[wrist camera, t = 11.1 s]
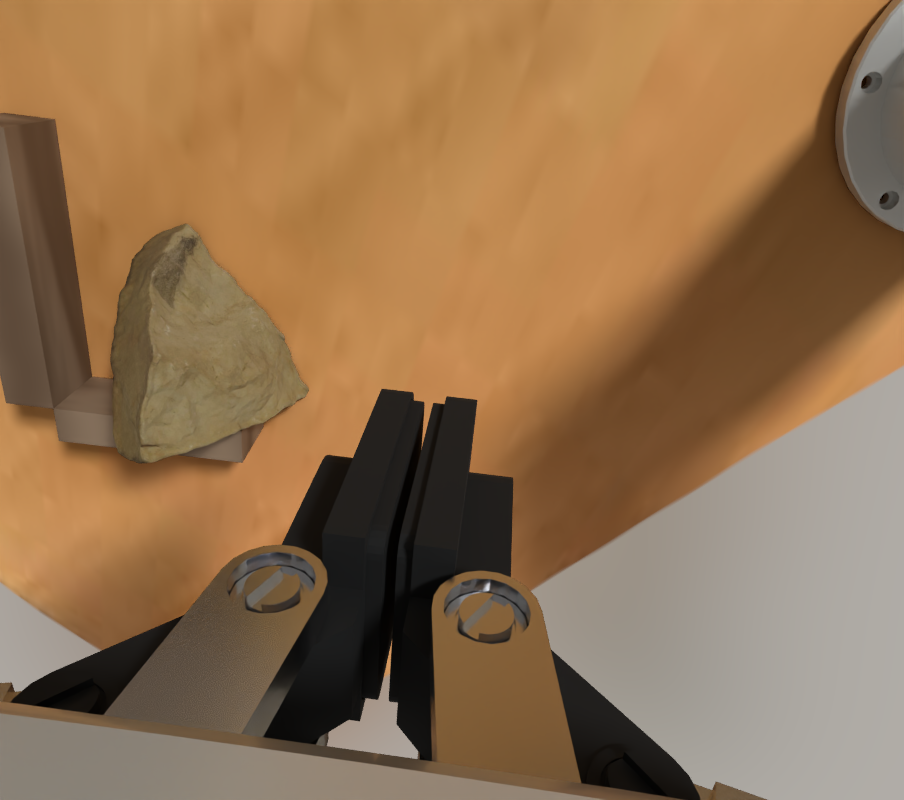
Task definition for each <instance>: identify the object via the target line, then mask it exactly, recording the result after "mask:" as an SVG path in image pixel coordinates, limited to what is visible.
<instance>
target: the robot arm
mask: <svg viewBox="0 0 904 800" xmlns="http://www.w3.org/2000/svg"><path fill="white" fill-rule="evenodd" d="M865 76H866V78H867V82H866V84H865V86H863V87H862V88H861V82H862V80H863V78H864V77H865ZM835 145H836V150H837V156H838V162H839V167H840V169H841V172H842V174H843V177H844V179H845V181H846V184H847V186H848V189H849V190H850V191H851V193H852V194H853V195H854V197H855V198H856V199H857V201H858V202H859V203H860V205H861V206H862V207H863V208H864V209H866V210H867V211H868V212H869V213H870V214H872V215H873V216H874V217H875V218H876V219H878V220H879V221H881V222H883V223H885V224H887V225H889V226H891V227H893V228H895V229H897V230H900V231H903V232H904V0H892V1H891V2H890V4H889V5H888V6H887V8H886V9H885V10H884V11H883V13H882V14H881V15H880V16H879V18H878V19H877V20H876V22H875V23H874V24H873V25H872V27H871V28H870V29H869V31H868V33H867V34H866V36H865V38H864V40H863V41H862V43H861V45H860V47H859V48H858V50H857V52H856V54H855V55H854V57H853V59H852V62H851V65H850V67H849V70H848V72H847V75H846V77H845V80H844V83H843V85H842V88H841V93H840V98H839V103H838V107H837V112H836V128H835ZM883 194H884V198H883V199H882V200H881V201H880V198H881V197H882V195H883ZM879 201H880V202H879ZM476 407H477V400H473V399H465V398H456V397H448V396H447V397H446V401H445V404H438V403H433V407H432V411H431V415H430V418H429V422H428V426H427V430H426V434H425V438H424V442H423V446H422V433H423V419H424V402H421V401H414V394H413V392H405V391H397V390H388V389H382V390H381V392H380V394H379V396H378V399H377V401H376V404H375V406H374V409H373V411H372V413H371V416H370V418H369V421H368V423H367V426H366V428H365V430H364V433H363V435H362V438H361V440H360V443H359V445H358V447H357V450H356V452H355V455H354V457H353V458H348V457H340V456H332V455H327V456H325V457H324V459H323V460H322V462H321V464H320V467H319V469H318V471H317V473H316V475H315V477H314V479H313V481H312V483H311V485H310V487H309V489H308V491H307V493H306V496H305V498H304V500H303V502H302V504H301V506H300V508H299V510H298V512H297V514H296V516H295V518H294V520H293V522H292V524H291V527H290V529H289V531H288V533H287V535H286V537H285V539H284V541H283V543H282V545H271V546H262V547H259V548H255V549H252V550H248V551H246V552H244V553H242V554H241V555H239V556H237V557H235V558H233V559H232V560H231V561H230V562H229V563H228V564H227V565H226V566H224V567H223V568H222V569H221V571H220V572H219V573H218V574H217V576H216V577H215V578H214V579H213V581H212V582H211V583H210V584H209V585H208V587H207V588H206V589H205V590H204V592H203V593H202V594H201V595H200V597H199V598H198V599H197V600H196V601H195V603H194V604H193V605H192V606H191V608H190V609H189V610H188V611H187V613H186V614H185V615H183V616H181V617H179V618H176V619H174V620H172V621H169V622H167V623H165V624H162V625H160V626H158V627H155V628H153V629H151V630H149V631H146V632H144V633H142V634H139V635H137V636H135V637H132V638H130V639H128V640H125V641H123V642H121V643H118V644H116V645H114V646H111V647H109V648H107V649H105V650H102V651H100V652H98V653H95V654H93V655H91V656H89V657H86V658H84V659H81V660H79V661H77V662H75V663H72V664H70V665H68V666H65V667H63V668H61V669H58V670H56V671H54V672H51V673H49V674H48V675H46V676H44V677H43V678H40V679H39V680H37V681H35V682H33V683H31V684H30V685H29V686H28V687H26V688H25V689H24V690H23V691H19V692H15V691H14V688H13V685H12V683H0V800H767V799H764V798H761V797H758V796H755V795H752V794H750V793H747V792H744V791H741V790H738V789H735V788H733V787H730V786H727V785H724V784H721V783H719V782H716V783H715V785H714V787H713V790H710V789H707V788H704V787H702V786H698V785H696V784H693V782H692V780H691V779H690V777H689V775H688V774H687V773H686V772H685V771H684V770H683V769H682V768H681V766H680V765H679V764H678V763H677V762H676V761H675V760H674V759H673V758H672V757H671V756H670V755H669V754H668V753H667V752H665V751H664V750H663V749H662V748H661V747H660V746H659V745H658V744H656V743H655V742H654V741H653V740H652V739H651V738H650V737H648V736H647V735H646V734H645V733H644V732H643V731H642V730H641V729H640V728H638V727H637V726H636V725H635V724H634V723H633V722H632V721H631V720H629V719H628V718H627V717H626V716H625V715H624V714H623V713H622V712H621V711H619V710H618V709H617V708H616V707H615V706H614V705H613V704H612V703H610V702H609V701H608V700H607V699H606V698H605V697H604V696H602V695H601V694H600V693H599V692H598V691H597V690H596V689H595V688H594V687H592V686H591V685H590V684H589V683H588V682H587V681H586V680H585V679H583V678H582V677H581V676H580V675H579V674H578V673H576V671H575V670H573V669H572V668H571V667H570V666H569V665H568V664H567V663H565V662H564V661H563V660H562V659H561V658H560V657H559V656H558V655H556V654H555V653H554V652H553V651H552V650H551V648H550V644H549V639H548V635H547V631H546V626H545V622H544V617H543V613H542V610H541V607H540V605H539V603H538V600H537V598H536V597H535V596H534V595H533V593H532V592H531V591H530V590H529V589H528V588H527V587H526V586H524V585H523V584H521V583H520V582H518V581H517V580H515V579H514V578H511V543H512V506H513V478H511V477H503V476H495V475H487V474H479V473H471V472H469V469H470V460H471V451H472V442H473V434H474V425H475V416H476ZM421 447H422V450H421ZM391 641H392V653H391V670H390V689H389V701H390V702H398V710H397V725H398V726H399V728H400V729H401V730H402V731H403V733H404V734H405V735H406V736H407V738H408V739H409V740H410V741H411V742H412V744H413V745H414V746H415V748H416V749H417V750H418V759H412V758H404V757H398V756H390V755H384V754H376V753H370V752H363V751H355V750H349V749H342V748H335V747H328V746H327V743H328V732H329V731H331V730H332V729H334V728H336V727H337V726H339V725H341V724H342V723H344V722H346V721H347V720H355V721H360V719H361V715H362V711H363V706H364V702H365V698H369V699H376V700H377V699H378V698H379V695H380V691H381V686H382V682H383V677H384V673H385V668H386V664H387V659H388V655H389V650H390V646H391Z"/></svg>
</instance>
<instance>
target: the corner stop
mask: <svg viewBox="0 0 904 800" xmlns="http://www.w3.org/2000/svg"><path fill="white" fill-rule="evenodd" d="M0 376H1V381H2V386H3V390H4V395H5V400H6V403H10V404H18V405H27V406H35V407H44V408H52V409H54V415H55V421H56V426H57V432H58V438H59V441H64V442H73V443H81V444H89V445H98V446H106V447H115V448H117V447H116V444H115V441H114V438H113V434H112V431H113V413H112V388H113V379H108V378H100V377H92V373H91V366H90V359H89V352H88V345H87V338H86V331H85V324H84V317H83V310H82V303H81V296H80V290H79V283H78V276H77V269H76V262H75V255H74V248H73V241H72V234H71V227H70V220H69V213H68V206H67V199H66V192H65V185H64V178H63V172H62V165H61V158H60V151H59V144H58V137H57V130H56V123H55V119H48V118H40V117H32V116H24V115H16V114H8V113H0ZM263 427H264V424H263V423H262V424H257V425H253V426H250V427H249V428H245V429H242V430H240V431H238V432H237V433H235V434H231V435H229V436H227V437H224V438H222V439H220V440H218V441H216V442H214V443H212V444H209V445H207V446H204V447H200V448H195V449H193V450H191V451H189V452H187V453H183V454H178V455H182V456H190V457H199V458H207V459H215V460H224V461H232V462H241V463H242V462H243V461H244V459H245V457H246V456H247V454H248V452H249V451H250V449H251V447H252V446H253V444H254V442H255V440H256V439H257V437H258V435H259V434H260V432H261V430H262V429H263Z"/></svg>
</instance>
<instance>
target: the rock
mask: <svg viewBox="0 0 904 800" xmlns="http://www.w3.org/2000/svg"><path fill="white" fill-rule="evenodd" d="M284 340H285V336H284V335H283V334H282V333H281V332H280V331H279V330H278V329H277V328H276V327H275V325H274V324H273V323H272V321H271V320H270V318H269V317H268V315H267V313H266V312H265V311H264V310H263V309H262V308H260V307H259V306H258V305H257V304H256V302H255V301H254V300H253V299H252V298H251V297H250V296H248V295H246V294H245V293H244V292H243V290H242V289H241V288H240V287H239V286H238V285H237V283H236V280H235V279H234V278H233V277H232V276H230V275H229V273H228V272H226V271H225V270H224V269H222V268H220V267H219V266H218V265H217V264H216V263H215V262H214V261H213V260H212V259H211V257H210V255H209V252H208V250H207V249H206V247H205V246H204V244H203V242H202V240H201V238H200V236H199V235H198V233H197V232H195V231H194V230H193V229H192V228H191V227H190V226H189V225H188V224H183V225H180V226H177V227H175V228H173V229H170V230H166V231H163V232H161V233H159V234H157V235H156V236H154V237H153V238H151V239H150V240H149V241H148V242H147V243H146V244H145V245H144V246H143V248H142V249H141V251H139V252H138V253H137V254H136V255H135V257H134V258H133V259H132V263H131V268H130V272H129V275H128V277H127V281H126V284H125V287H124V288H123V289H122V290H121V292H120V295H119V301H118V312H117V321H116V325H115V327H114V340H113V343H112V350H111V359H110V362H111V367H112V371H113V374H114V376H113V388H112V413H113V431H112V434H113V438H114V441H115V444H116V447H117V450H118V453H119V454H121V455H122V456H123V457H125V458H127V459H129V460H132V461H135V462H136V463H153V462H156V461H159V460H161V459H163V458H166V457H170V456H174V455H178V454H183V453H187V452H189V451H191V450H193V449H195V448H200V447H204V446H207V445H209V444H212V443H214V442H216V441H218V440H220V439H222V438H224V437H227V436H229V435H231V434H235V433H237V432H238V431H240V430H242V429H245V428H249V427H250V426H253V425H257V424H262V423H264V422H266V421H268V420H269V419H270V418H272V417H274V416H275V415H277V414H278V413H279V412H280V411H281V410H283V409H284V408H286V407H289V406H292V405H294V404H295V402H296V401H297V400H299V399H301V398H304V397H306V395H307V393H308V391H309V388H308V387H307V385H306V384H304V383H303V382H302V381H301V379H300V377H299V375H298V372H297V370H296V367H295V365H294V363H293V361H292V359H291V353H290V350H289V349H288V347H287V345H286V343H285V341H284Z"/></svg>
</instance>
